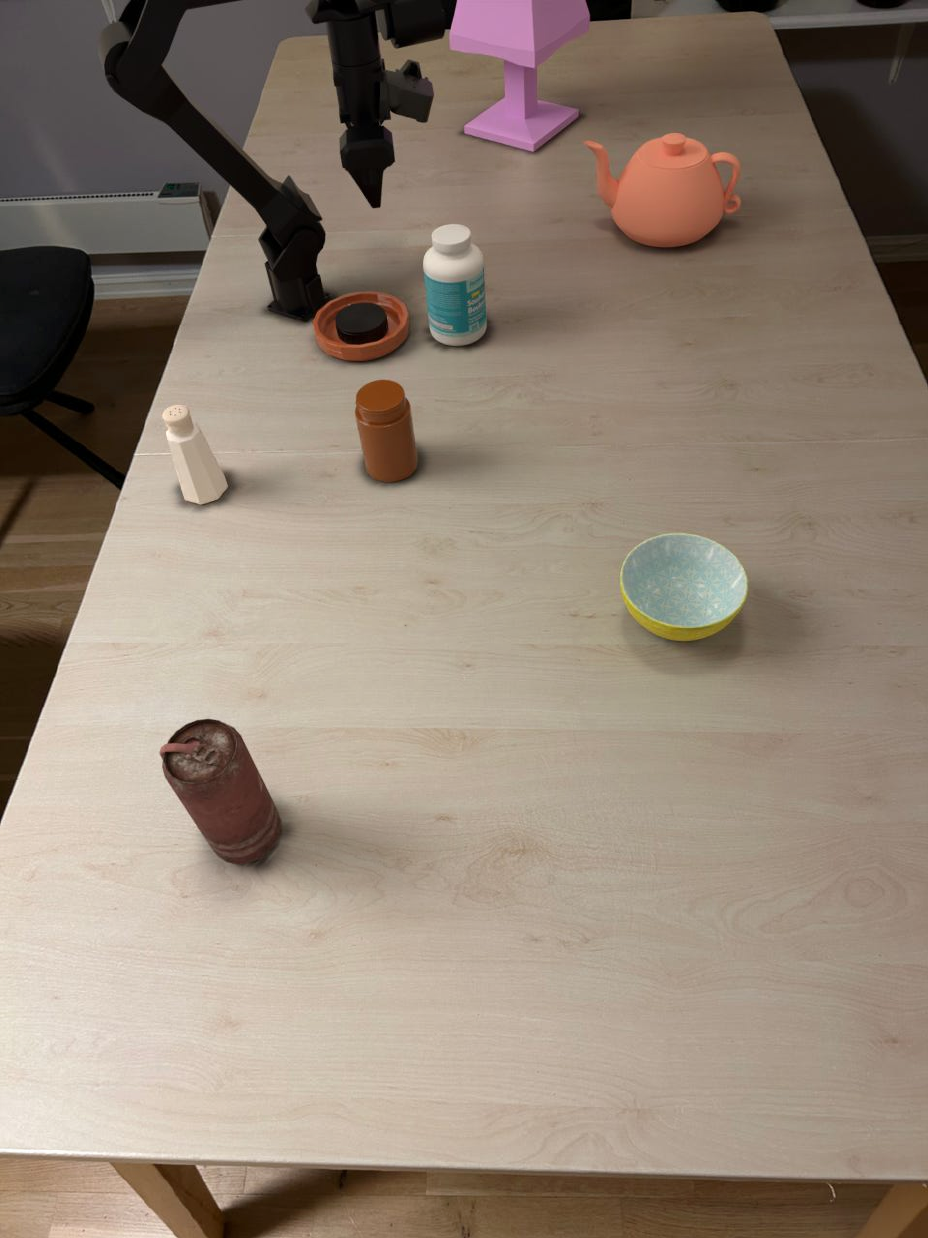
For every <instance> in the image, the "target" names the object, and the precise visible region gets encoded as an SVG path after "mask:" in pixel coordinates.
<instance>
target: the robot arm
mask: <svg viewBox="0 0 928 1238" xmlns="http://www.w3.org/2000/svg"><path fill="white" fill-rule="evenodd" d="M239 1H242V0H127V2H126V3H125V5H124V7H123V8H122V9H121V12H120V14H119V16H118V18H117V20H116V21H115V22H112V23H111V22H110V23H109V24H108V25H106V26H105V27H104V28H103V29H102V30H101V32H100V34H99V36H98V40H97V54H98V57H99V61H100V65H101V67H102V70H103V73H104V76H105V79H106V81H107V83H108V86H109V87H110V88H111V90H113V92H114V93H115V94H116V95H117V96H118V97H120V98H122V99H123V100H124V101H126V102H128V103H129V104H130V105H132V106H133V107H135V108H136V109H138V110H139V111H140V112H142V113H143V114H145V115H147V116H149V117H152V118H154V119H156V120H158V121H159V122H162V123H164V124H165V125H167V126H168V127H169V128H170V129H171V130H172V131H173V132H174V133H176V135H177V136H179V138H181V139H182V140H183V141H184V142H185V143H186V145H188V146H189V147H190V148H191V149H192V150H193V151H194V152H195V153H196V154H197V155H198V156H199V157H200V158H201V159H202V160H203V161H204V162H206V163H207V165H208V166H210V167H211V168H212V170H214V171H215V172H216V173H217V174H218V175H219V176H220V177H221V178H222V179H223V180H224V181H225V182H226V183H227V184H228V185H230V187H231V188H232V189H234V190H235V192H237V193H238V194H239V195H240V196H241V197H242V198H243V199H244V200H245V201H246V202H247V203H248V204H249V205H250V206H251V207H252V208H253V209H254V210H255V211H256V212H257V214H258V215H259V217H260V218H261V220H262V222H263V223H264V225H265V227H264V229H263V230H262V232H261V234H260V235H259V236H258V243H259V246H260V247H261V249H262V251H263V253H264V256H265V258H266V261H265V262H264V268H265V272H266V276H267V279H268V283H269V286H270V291H271V294H272V299H273V300H272V301H271V302H269V304H268V305H267V306H266V310H267V311H268V312H271V313H274V314H278V315H281V316H284V317H287V318H290V319H293V320H296V321H300V322H305V321H307V320H309V319H310V317H312V316H313V315H314V314H315V313H317V312H318V311H319V310H320V309H321V308H322V307H323V306H324V305H325V304H327V303H328V302H329V301H330V300H331V298H332V295H331V293H330V292H328V291H324V287H323V281H322V277H321V274H319V271H318V267H317V266H318V265H317V262H318V258H319V257H318V256H319V254H320V253H321V252H322V250H323V249H324V247H325V243H326V237H327V236H326V235H327V233H326V231H325V228H324V226H323V224H322V223H321V222H322V221H323V217H322V215H321V213H320V211H319V209H318V208H317V206H316V204H315V203H314V201H313V199H312V197H311V196H310V194H309V193H306V192H304V191H303V190H302V189H300V188H299V187H298V186H297V184H296V182H295V181H294V179H293V178H292V176H291V175H287V176H286V178H285V179H284V181H283V182H280V181H278V180H276V179H274V178H273V177H271V176H270V175H268V173H266V172H265V171H264V170H263V168H262V167H261V166H260V165H258V163H257V162H256V161H255V160H254V159H253V158H252V157H250V155H249V154H248V153H247V152H246V151H245V150H244V149H243V148H242V147H241V146H240V145H239V144H238V143H237V142H236V141H235V140H234V139H233V138H232V137H231V135H229V134H228V133H227V132H226V131H225V130H224V129H223V128H222V127H221V126H220V124H218V122H217V121H215V120H214V118H212V117H211V116H210V115H209V113H207V111H205V109H203V107H202V106H200V104H199V103H198V102H196V101H195V99H194V98H193V97H192V96H191V95H190V94H189V93H188V92H187V91H186V90H185V89H184V88H183V86H182V84H181V83H180V81H179V80H178V78H177V77H176V76H175V74H174V73H173V71H172V70H171V68H170V66H169V65H168V64H167V62H166V61H165V60H166V59H167V57H168V54H169V52H170V49H171V48H172V44H173V42H174V40H175V37H176V33H177V30H178V28H179V25H180V22H181V20H182V19H183V17H184V15H185V13H186V12H187V11H188V10H189V11H190V10H195V9H199V8H200V9H201V8H205V7H212V6H217V5H223V4H228V3H234V2H239ZM304 13H305V14H306V16H307V17H308V19H309V20H310V21H311V23H312V24H314V25H320V24H323V23H324V24H325V31H326V35H327V42H328V47H329V48H328V49H329V53H330V54H329V55H330V61H331V65H332V80H333V85H334V86H333V87H335V90H336V91H335V92H336V97H337V103H338V116H339V122H340V124H344V125H345V128H346V129H345V130H344V132H343V133H342V134H341V135H340V137H339V138H338V139H339V155H340V161H341V162H340V163H341V167H342V169H344V170H345V171H346V172H347V173H348V174H349V175H350V176H351V178H352V180H353V181H354V183H355V184H356V185H357V188H359V190H360V192H361V193H362V195H363V196H364V199H366V201H367V203H368V204H369V206H370V207H371V209H379V208H381V207H382V195H383V193H382V192H383V181H384V180H383V179H384V172H385V171H386V170H387V169H388V168H390V167H391V166H393V164H394V163H395V162H396V158H395V157H396V156H395V147H394V146H395V145H394V137H393V132H392V131H390V130H389V129H388V128H387V127H386V126H385V125H383V124H384V122H385V121H391V120H392V115H391V114H394V115H397V116H401V117H404V118H410V119H413V120H415V121H416V122H417V123H422V124H426V123H428V122H429V118H430V113H431V110H432V105H433V101H434V97H435V91H434V85H433V82H432V81H430V80H429V77H428V76H424V77H423V74H422V70H421V65H420V62H418V61H416V60H412V59H407V60H406V61H405V62H404V63H403V65H402V66H401V68H395V71H394V70H389V69H386V64H385V63H386V62H385V58H382V53H381V46H380V38H379V37H380V36H379V32H380V35H381V38H382V39H383V40H384V41H385V42H386V41H390V42H391V46H393V48H394V49H395V50H398V49H403V48H406V47H411V46H416V45H420V44H425V43H429V42H430V43H431V42H433V41H439V40H442V39H444V37H445V33H446V13H445V10H444V9H443V5H442V0H310V1H309V3H308V4H307V5H306V6H305V8H304ZM378 28H379V30H378Z"/></svg>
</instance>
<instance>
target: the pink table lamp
mask: <svg viewBox="0 0 928 1238" xmlns="http://www.w3.org/2000/svg"><path fill="white" fill-rule="evenodd" d="M590 21H591V14H590V11H589V8H588V5H587V1H586V0H456V5H455V9H454V15H453V18H452V22H451V27H450V31H449V35H448V36H449V39H448V40H449V49H450V50H452V51H456V52H461V53H464V54H475V55H484V56H485V55H486V56H490V57H494V58H499V59H502V60H503V77H504V78H503V80H504V83H503V84H504V97H503V98H501V99H500V100H499V101H497V102H495V103H494V104H492V105H491V106H490V107H488V108H487V109H486V110H484V111H483V112H481V113H480V114H479V115H478V116H476V117H474V118H473V119H472V120H471V121H469V122H468V123H467V124H465V125H464V126H463V128H464V129H463V131H464V133H463V134H466V135H470V136H473V137H477V138H479V139H480V138H481V139H484V140H487V141H491V142H496V143H498V144H503V145H507V146H511V147H514V148H517V149H521V150H525V151H530V152H532V153H533V152H535V151H537V150H538V149H539V148H541V147H542V146H543V145H544V144H546V143H547V142H548V141H549V140H551V139H552V138H553V137H555V136H556V135H557V134H559V133H560V132H561V131H562V130H563V129H565V128H566V127H568V126H569V125H570V124H571V123H572V122H574V121H575V120H577V118H579V108H574V107H570V106H566V105H562V104H557V103H554V102H550V101H545V100H541V99H538V67H539V66H540V65H542V64H543V63H545V62H546V61H547V60H548V59H549V58H551V56H552V55H554V54H555V53H556V52H557V51H558V50H559V49H560V48H562V47H564V46H565V45H566V44H568V43H569V42H572V41H574V40H576V39H578V38H580V37H581V36H583V35H585V34H586V33H587V32H589V31H590V28H591V27H590V26H591V24H590Z"/></svg>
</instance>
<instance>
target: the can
mask: <svg viewBox="0 0 928 1238" xmlns="http://www.w3.org/2000/svg"><path fill="white" fill-rule="evenodd" d="M158 752H159V755H160V756H159V757H160V758H161V759H162V764H161V769H162V772H163V775H164V778H165V780H166V782H167V783H168V784H169V786H170V787H171V789H172V790H173V792H174V794H175V795H176V797H177V798H178V800H179V801H180V803H181V804H182V806H183V807H184V809H185V810H186V812H187V814H188V815H189V816H190V818H191V819H192V821H193V823H194V825H196V827H197V829H198V830H199V832H200V833H201V835H202V836H203V838H204V839H205V841H206V842H207V844H208V845H209V847H210V848H211V850H212V851H213V852H214V854H215V855H216V857H218V858H219V859H221V860H223V861H225V862H226V863H229V864H235V865H243V864H250V863H252V862H255V861H257V860H260V859H261V858H263V857H264V856H265V855H267V854H268V853H269V852H271V851H272V849H273V848H274V846H275V845H276V843H277V842H278V841H279V838H280V834H281V831H282V818H281V815H280V812H279V810H278V808H277V806H276V804H275V802H274V800H273V798H272V795H271V794H270V792H269V790H268V787H267V786H266V784H265V782H264V780H263V777H262V775H261V773H260V771H259V769H258V767H257V765H256V763H255V761H254V759H253V756H252V755H251V753H250V750H249V749H248V747H247V745H246V742H245V740H244V738H243V737H242V735H241V733H239V731H237V729H236V728H235V727H234V726H232V725H231V724H228V723H226V722H223V721H221V720H220V719H213V718H201V719H195V720H193V721H191V722H188V723H185V724H184V725H183V726H181V727H180V728H178V729H177V730H176V731H175V732H174V733H173V734H172V735H171V737H170V738H169V739H168V740H167V742H166V743H165V744H163V745H162V746H161V747H160V749H159V751H158Z"/></svg>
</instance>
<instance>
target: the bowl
mask: <svg viewBox="0 0 928 1238" xmlns="http://www.w3.org/2000/svg"><path fill="white" fill-rule="evenodd" d="M619 582H620V584H619V585H620V591H621V595H622V600H623V602H624V604H625V606H626V608H627V610H628V612H629V613H630V614H631V616H632V617H633V618H634V620H635V621H636V622H637V623H638V624H639V625H640V626H641V627H642V628H644V629H646V630H647V631H648V632H649V633H651V634H653V635H655V636H657V637H660V638H662V639H666V640H670V641H678V642H690V641H697V640H702V639H705V638H709V637H710V636H713V635H714V634H716V633H718V632H720V631H721V630H723V629H724V628H725V627H727V626H728V625H729V624H730V623H731V622H732V621H733V620H734V619H735V618H736V616H737V615H738V614H739V612H741V609H742V608H743V606H744V604H745V602H746V599H747V596H748V592H749V580H748V575H747V572H746V569H745V568H744V566H743V564H742V562H741V561H740V559H739V558H738V557H737V556H736V555H735V553H733V552H732V551H731V550H729V549H728V548H727V547H726V546H724V545H723V544H721V543H720V542H717V541H715V540H713V539H711V538H708V537H705V536H702V535H700V534H699V535H698V534H695V533H694V534H693V533H687V532H671V533H670V532H669V533H663V534H658V535H655V536H653V537H649V538H647V539H645V540H643V541H641V542H640V543H639V544H637V545H636V546H634V547H633V548H632V549H631V550H630V552H629V553H628V554H627V555H626V556H625V558H624V560H623V562H622V564H621V567H620V573H619Z"/></svg>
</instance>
